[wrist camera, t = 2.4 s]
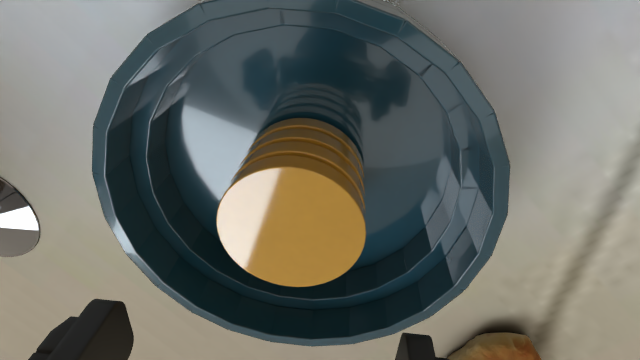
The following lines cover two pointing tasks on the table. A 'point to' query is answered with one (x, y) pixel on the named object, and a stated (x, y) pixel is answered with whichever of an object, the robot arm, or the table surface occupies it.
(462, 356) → the pastry
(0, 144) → the table surface
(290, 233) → the tan ridged cylinder
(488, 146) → the bowl
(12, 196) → the wine glass
